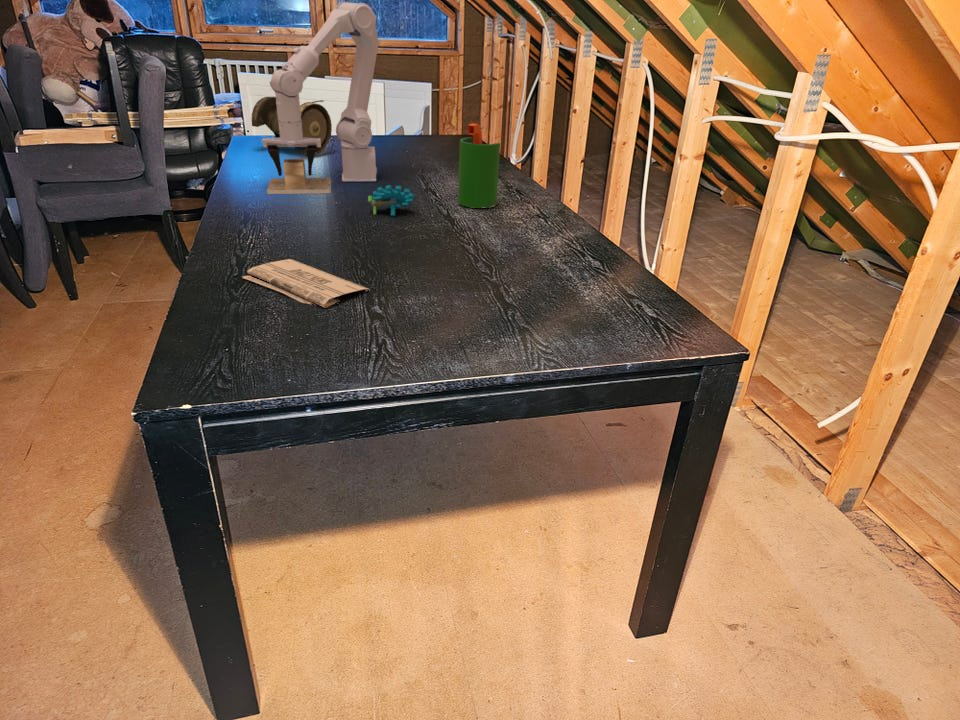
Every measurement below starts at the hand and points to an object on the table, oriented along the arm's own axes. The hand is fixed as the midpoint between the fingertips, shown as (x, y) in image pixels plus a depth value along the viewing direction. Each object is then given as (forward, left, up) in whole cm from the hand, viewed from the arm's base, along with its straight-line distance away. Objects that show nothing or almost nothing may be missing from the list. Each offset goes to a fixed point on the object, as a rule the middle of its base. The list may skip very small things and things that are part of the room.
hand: (295, 174), depth 174 cm
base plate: (-1, 0, -3) cm, 4 cm away
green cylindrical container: (-46, +18, -4) cm, 50 cm away
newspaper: (-5, +67, -4) cm, 67 cm away
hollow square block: (0, 0, -2) cm, 2 cm away
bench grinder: (+1, -44, -4) cm, 44 cm away
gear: (-24, +24, -4) cm, 34 cm away
